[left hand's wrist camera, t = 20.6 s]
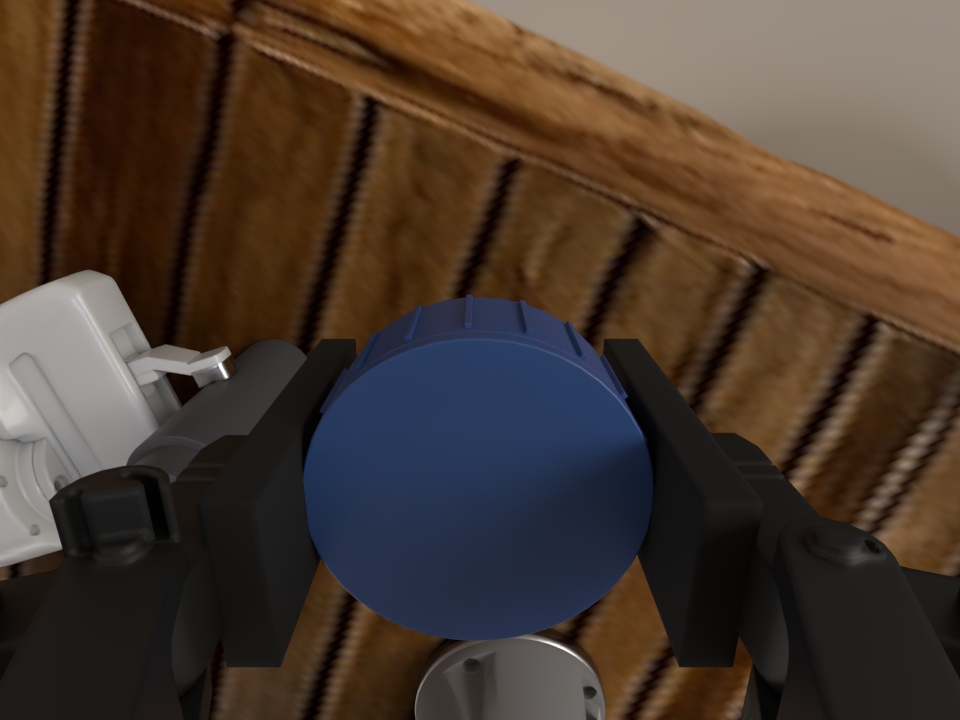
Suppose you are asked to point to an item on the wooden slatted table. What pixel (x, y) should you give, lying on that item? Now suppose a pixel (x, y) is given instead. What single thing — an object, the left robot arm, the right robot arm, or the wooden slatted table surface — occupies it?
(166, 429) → the grey bottle
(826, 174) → the wooden slatted table surface
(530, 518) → the lid
